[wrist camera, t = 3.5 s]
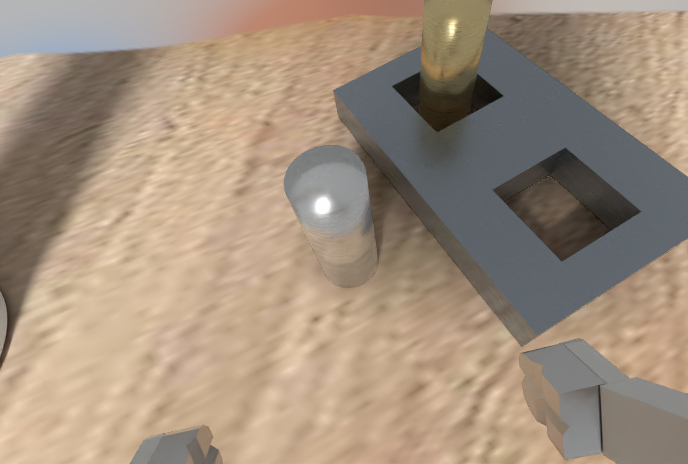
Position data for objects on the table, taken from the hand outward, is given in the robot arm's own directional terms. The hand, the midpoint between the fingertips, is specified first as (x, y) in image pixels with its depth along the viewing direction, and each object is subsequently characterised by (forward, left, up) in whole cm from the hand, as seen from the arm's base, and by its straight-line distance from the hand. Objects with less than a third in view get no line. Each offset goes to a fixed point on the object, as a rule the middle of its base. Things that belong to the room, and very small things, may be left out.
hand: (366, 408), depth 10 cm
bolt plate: (+16, +11, -14) cm, 24 cm away
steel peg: (+3, +10, -14) cm, 17 cm away
